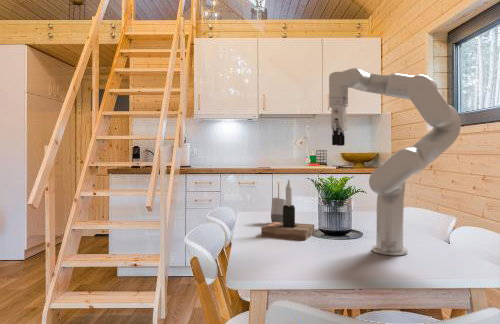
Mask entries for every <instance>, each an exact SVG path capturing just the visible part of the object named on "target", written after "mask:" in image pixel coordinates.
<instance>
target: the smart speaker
mask: <svg viewBox="0 0 500 324" xmlns="http://www.w3.org/2000/svg"><path fill="white" fill-rule="evenodd" d="M284 205H286V198H280V197H279V198H278V197H272V198H271V210H270V220H271V223H272V222H283V206H284Z"/></svg>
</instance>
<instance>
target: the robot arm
mask: <svg viewBox="0 0 500 324" xmlns="http://www.w3.org/2000/svg"><path fill="white" fill-rule="evenodd" d="M349 88H350V89H355V90H357V91H359V92H365V93H372V94H377V95H382V96H386V97H391V98H398V99H403V100H408V101H411V102H412V104H413V105H414V107H415V108H416V109H417V111H418V113H419V115H420V116H421V117H422V119H423V120H424V121H425V122H426V123H427V124H428V125H429V126H431V128H432V129H431V130H430V131H429V132H428V133H426V134H425V135H423V136H422V137H421V138H420V139H419V140H418V141H417V142H415V143H414V144H413V145H412V146H410V147H405V148H400V149H399V150H397V151H395V152H394V153H393V154H391V155H390V156H389V157H388V158H387V159H386V160H385V161H383V162H382V163H381V164H380V165H379V166H378V167H377V168H375V170H373V171H372V172H371V174H370V176H369V178H368V185H369V188H370V190H371V191H373V193H375V194H376V195H377V196H376V220H375V221H376V226H375V227H376V232H375V233H376V235H375V237H376V239H375V241H376V243H375V245H373V246H372V247H371V251H372V252H374V253H376V254H380V255H385V256H405V255H407V254H408V248H406V247H404V209H405V207H404V205H405V203H404V202H405V192H406V191H405V190H406V181H407V180H408V179H409V178H410V177H412V176H413V175H418V174H419V173H422V171H423V170H425V168H427V167H428V166H429V165H430V164H431V163H433V162H434V161H435V160H437V159H438V157H441V155H442V154H443V153H444V152H446V150H448V149H449V148H450V147H451V146H452V145H453V144H454V143H455V142H456V141H457V140H458V137H459V135H460V133H461V128H462V123H461V117H460V114H459V112H458V111H457V110H456V108H455V107H453V106H452V105H450V104H449V103H447V102H446V100H445V98H444V97H443V96H442V95H441V93H440V92H439V91H438V84H437V82H436V81H435V80H434V79H432V78H431V77H429V76H428V75H425V74H417V75H408V74H403V73H397V72H396V73H395V72H393V73H390V74H387V75H386V74H376V73H369V72H366V71H364V70H362V69H360V68H356V67H352V68H349V69H346V70H343V71H333V72H331V73H330V74H329V76H328V107H329V108H331V110H330V112H331V113H330V115H331V116H330V123H331V124H330V126H331V127H330V128H331V130H332V131H331V134H332V135H331V145H332V146H341V147H342V146H345V145H346V144H345V143H346V142H345V137H346V136H345V132H347V130H348V121H347V120H348V119H347V116H348V115H347V107H349Z"/></svg>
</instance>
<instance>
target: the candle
mask: <svg viewBox="0 0 500 324" xmlns="http://www.w3.org/2000/svg"><path fill="white" fill-rule="evenodd" d="M290 181H291V180H290V179H287V184H286V186H285V200H286V205H284V206H283V227H288V228H294V227H295V223H296V208H295V206H294V204H293V186H292V185H291V182H290Z"/></svg>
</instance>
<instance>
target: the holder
mask: <svg viewBox="0 0 500 324" xmlns="http://www.w3.org/2000/svg"><path fill="white" fill-rule="evenodd" d="M260 229H261V232H260V233H261V234H260V235H261V237H265V238H274V239H275V238H276V239H287V240H298V241H306V240H308V239H309V238H310V237H312V234H313V233H314V234H315V224H311V223H299V222H295V227H294V228H288V227H283V222H272V221H271V222H270V223H267V224H265V225H263V226H261V227H260ZM314 234H313V235H314Z"/></svg>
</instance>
